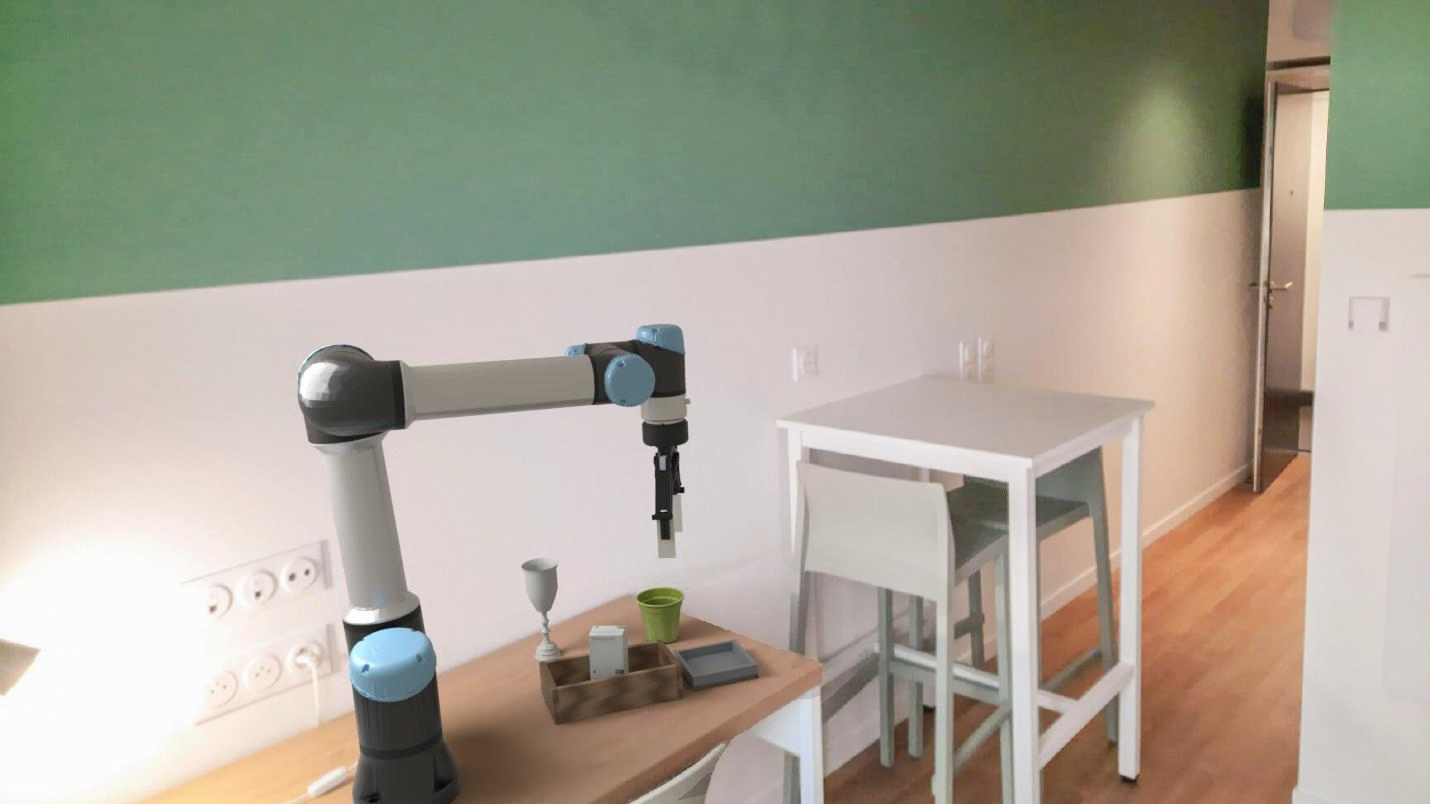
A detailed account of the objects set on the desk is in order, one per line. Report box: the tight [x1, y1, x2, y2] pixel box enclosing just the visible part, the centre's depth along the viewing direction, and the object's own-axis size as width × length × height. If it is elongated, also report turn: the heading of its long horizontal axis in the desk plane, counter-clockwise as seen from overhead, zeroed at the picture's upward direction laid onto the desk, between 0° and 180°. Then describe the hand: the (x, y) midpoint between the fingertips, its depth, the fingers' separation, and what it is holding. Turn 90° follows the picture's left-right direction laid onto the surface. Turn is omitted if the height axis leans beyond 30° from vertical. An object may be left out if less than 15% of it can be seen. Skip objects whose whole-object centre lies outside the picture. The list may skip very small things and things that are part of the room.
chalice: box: [520, 557, 562, 662], centre depth 202 cm, size 7×7×18 cm
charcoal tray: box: [672, 639, 760, 692], centre depth 193 cm, size 12×12×2 cm
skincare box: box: [588, 625, 629, 680], centre depth 185 cm, size 6×4×12 cm
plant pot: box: [635, 586, 686, 644], centre depth 208 cm, size 9×9×9 cm
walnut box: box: [538, 639, 684, 725], centre depth 185 cm, size 22×12×6 cm, turn 109°
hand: (671, 544), depth 181 cm, fingers open, 13 cm apart
